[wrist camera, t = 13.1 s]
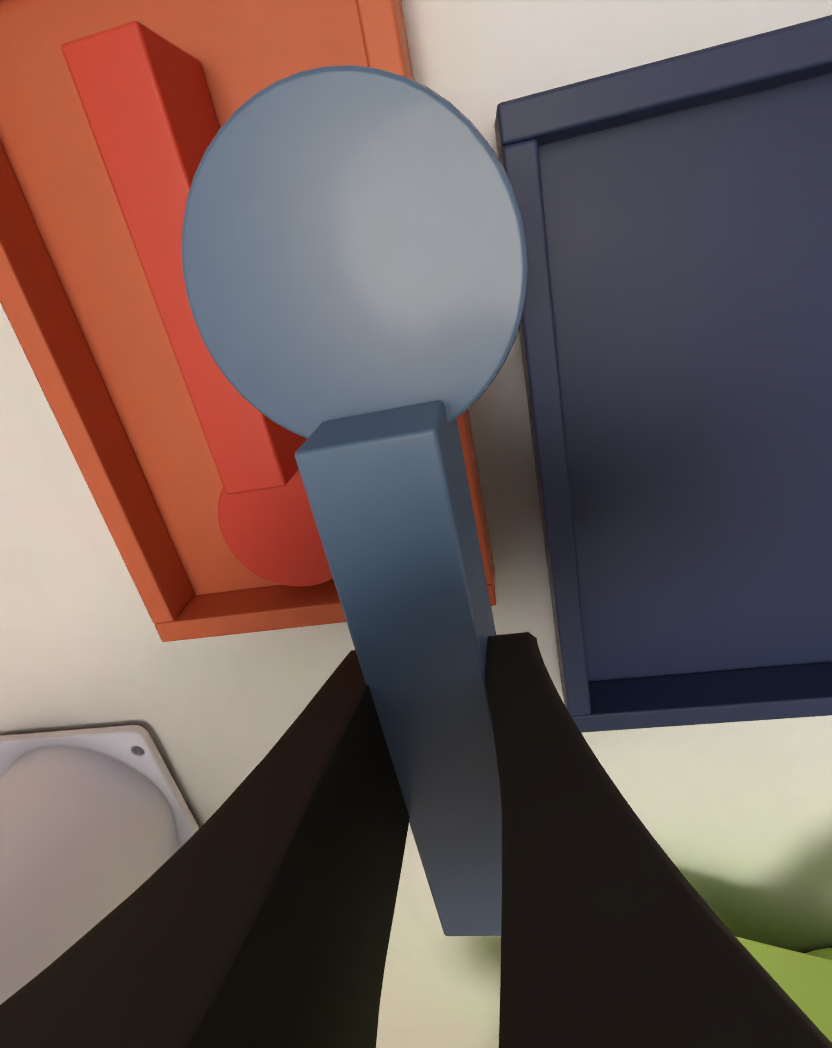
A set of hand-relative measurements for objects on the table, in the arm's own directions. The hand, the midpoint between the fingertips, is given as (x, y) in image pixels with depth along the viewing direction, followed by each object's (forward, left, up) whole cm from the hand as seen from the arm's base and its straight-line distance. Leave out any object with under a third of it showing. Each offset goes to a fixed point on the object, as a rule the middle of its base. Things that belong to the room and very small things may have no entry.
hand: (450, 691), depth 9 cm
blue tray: (0, -7, -9) cm, 11 cm away
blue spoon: (+2, 0, -1) cm, 2 cm away
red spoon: (+5, +5, -8) cm, 10 cm away
